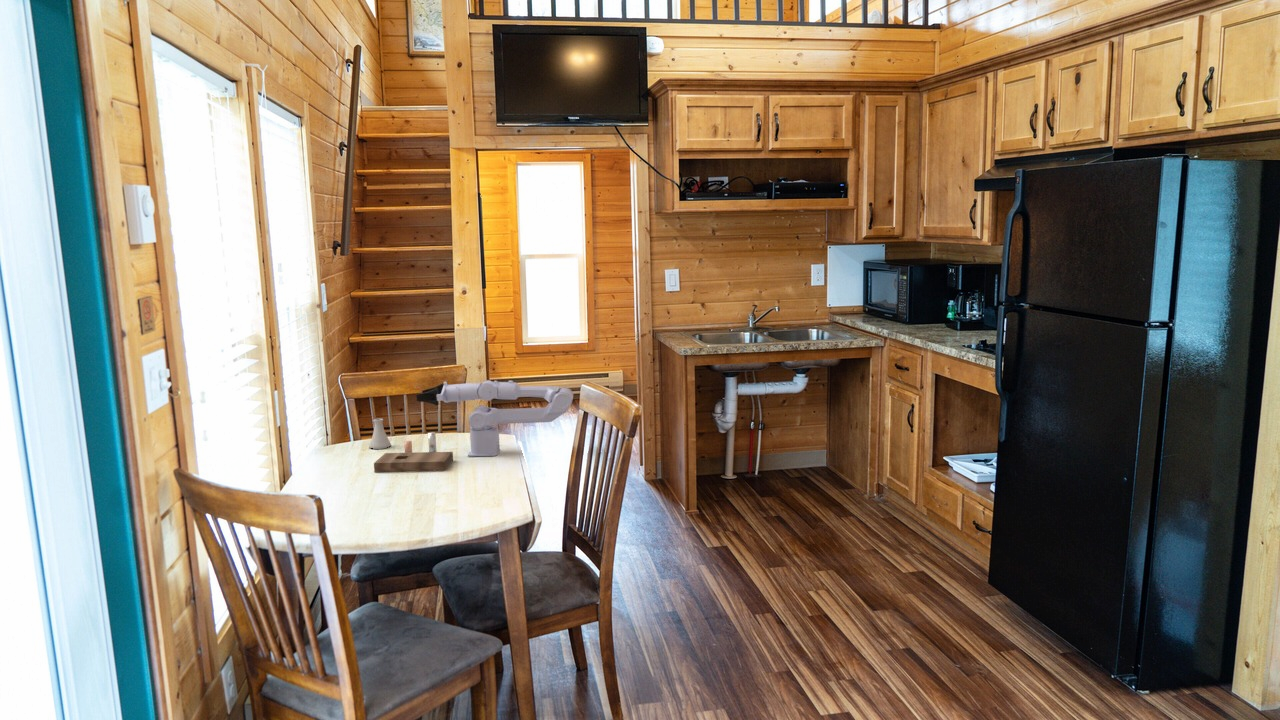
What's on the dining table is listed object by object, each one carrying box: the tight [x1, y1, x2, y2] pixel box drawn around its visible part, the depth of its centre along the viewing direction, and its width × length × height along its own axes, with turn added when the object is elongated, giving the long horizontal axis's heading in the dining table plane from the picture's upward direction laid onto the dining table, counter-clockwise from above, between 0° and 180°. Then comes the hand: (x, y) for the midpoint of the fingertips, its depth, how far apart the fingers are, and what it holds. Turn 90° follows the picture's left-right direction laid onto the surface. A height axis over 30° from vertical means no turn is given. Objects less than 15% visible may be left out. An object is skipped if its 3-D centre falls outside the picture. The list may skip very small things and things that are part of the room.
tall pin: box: [427, 431, 438, 452], centre depth 279 cm, size 2×2×8 cm
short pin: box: [403, 440, 413, 453], centre depth 282 cm, size 2×2×4 cm
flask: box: [368, 418, 392, 450], centre depth 292 cm, size 7×7×10 cm
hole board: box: [373, 451, 454, 473], centre depth 267 cm, size 22×12×3 cm, turn 90°
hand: (419, 395), depth 278 cm, fingers open, 7 cm apart
